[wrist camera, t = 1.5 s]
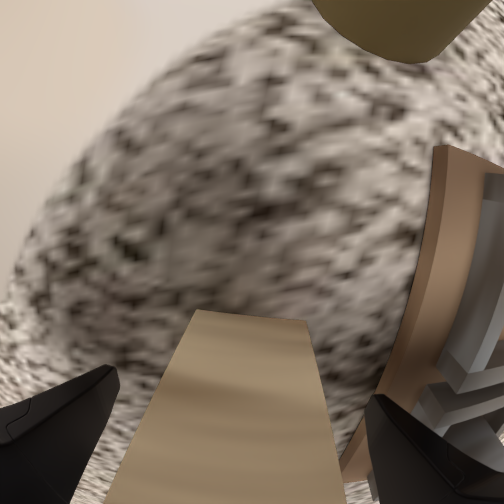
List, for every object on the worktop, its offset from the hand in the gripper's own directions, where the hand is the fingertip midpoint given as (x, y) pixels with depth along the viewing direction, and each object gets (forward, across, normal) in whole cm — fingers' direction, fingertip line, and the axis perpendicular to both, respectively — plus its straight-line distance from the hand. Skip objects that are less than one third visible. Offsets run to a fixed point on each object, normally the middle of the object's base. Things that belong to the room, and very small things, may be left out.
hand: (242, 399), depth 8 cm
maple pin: (+2, 0, 0) cm, 2 cm away
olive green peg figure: (+2, -4, -15) cm, 16 cm away
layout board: (+2, -12, 0) cm, 12 cm away
